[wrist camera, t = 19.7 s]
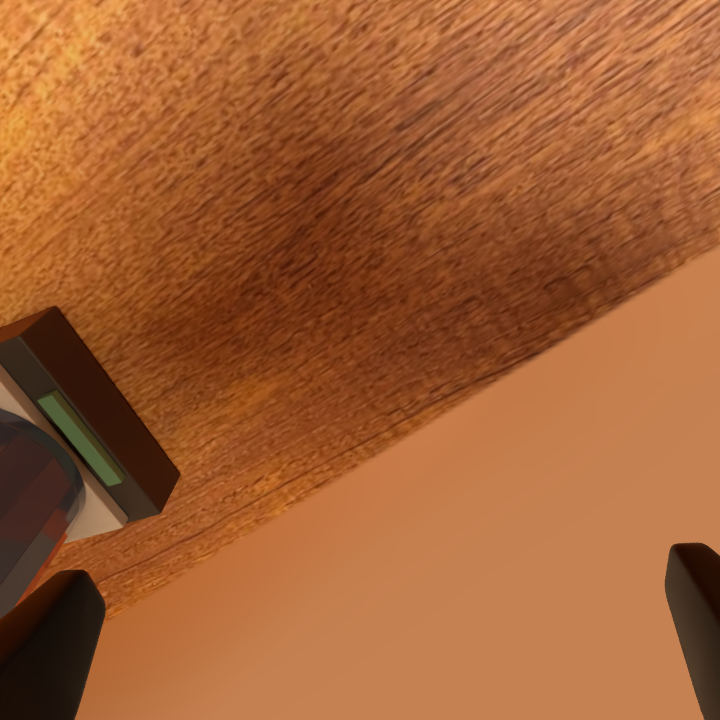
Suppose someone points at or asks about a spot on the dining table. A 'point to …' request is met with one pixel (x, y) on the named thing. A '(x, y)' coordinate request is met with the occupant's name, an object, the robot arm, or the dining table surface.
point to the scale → (84, 422)
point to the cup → (32, 505)
